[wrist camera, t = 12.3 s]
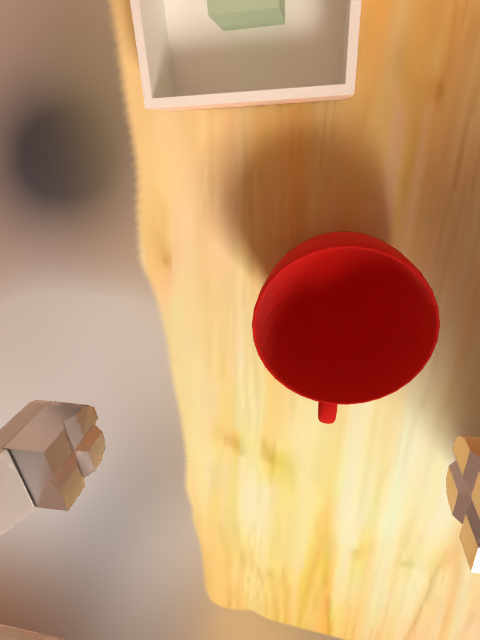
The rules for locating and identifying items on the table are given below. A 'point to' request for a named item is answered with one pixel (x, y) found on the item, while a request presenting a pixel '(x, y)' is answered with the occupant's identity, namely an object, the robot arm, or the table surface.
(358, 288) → the ceramic cup
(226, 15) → the sage cube
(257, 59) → the tub
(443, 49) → the table surface
